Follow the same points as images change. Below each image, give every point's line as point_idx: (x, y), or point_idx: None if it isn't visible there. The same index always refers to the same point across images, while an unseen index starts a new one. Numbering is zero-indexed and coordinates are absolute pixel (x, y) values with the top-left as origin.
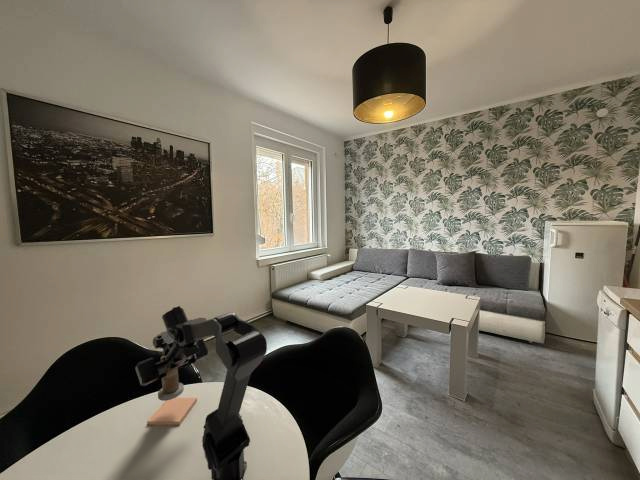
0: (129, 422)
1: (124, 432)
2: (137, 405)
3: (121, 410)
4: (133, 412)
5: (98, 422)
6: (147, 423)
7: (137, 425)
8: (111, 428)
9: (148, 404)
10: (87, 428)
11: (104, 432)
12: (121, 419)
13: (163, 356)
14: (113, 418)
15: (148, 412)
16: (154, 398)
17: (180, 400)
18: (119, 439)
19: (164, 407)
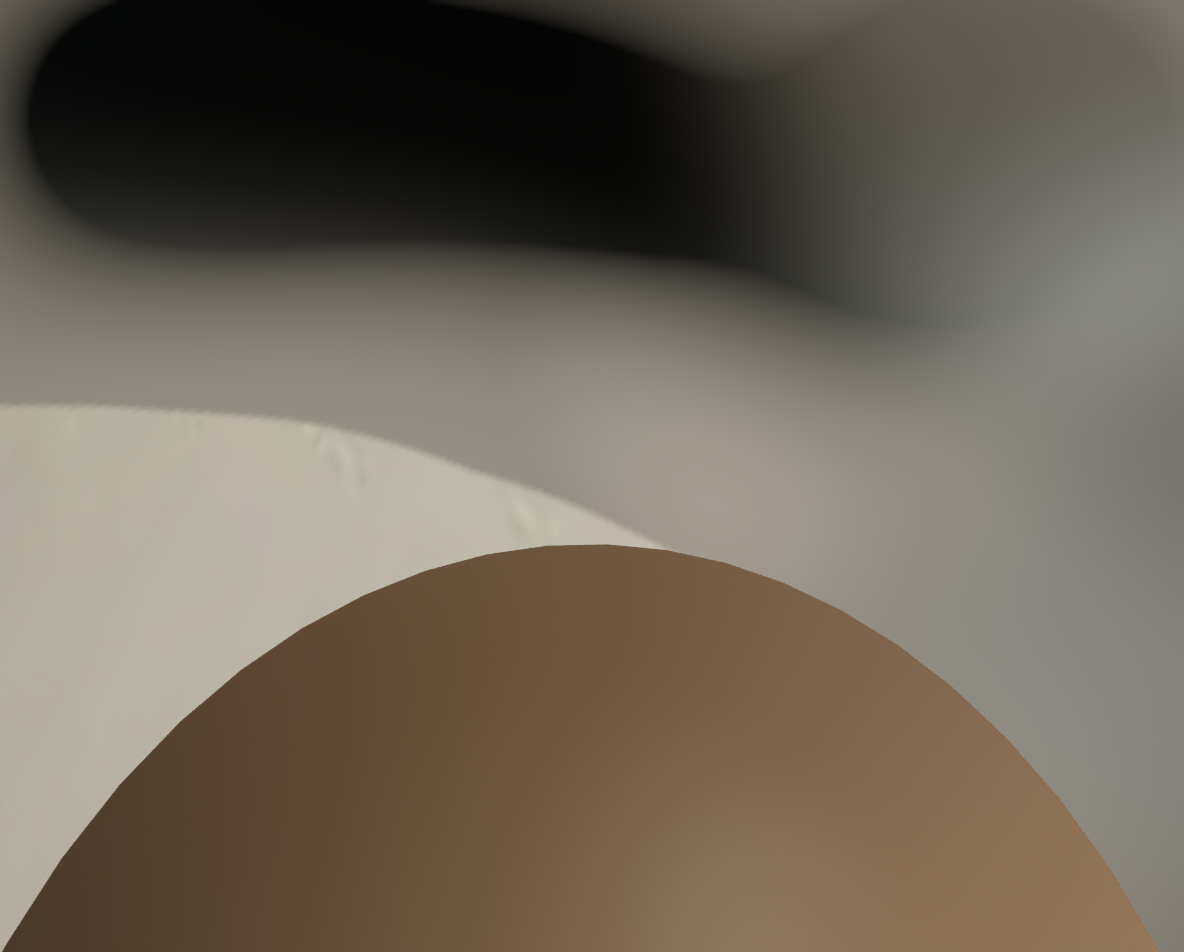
0: (212, 673)
1: (103, 794)
2: (376, 483)
3: (266, 440)
4: (307, 553)
5: (89, 443)
6: None
7: None
8: (87, 617)
9: (442, 551)
10: (6, 448)
11: (28, 621)
12: (200, 563)
13: (366, 733)
14: (175, 491)
15: None
16: (515, 508)
17: None
18: (17, 869)
19: None
